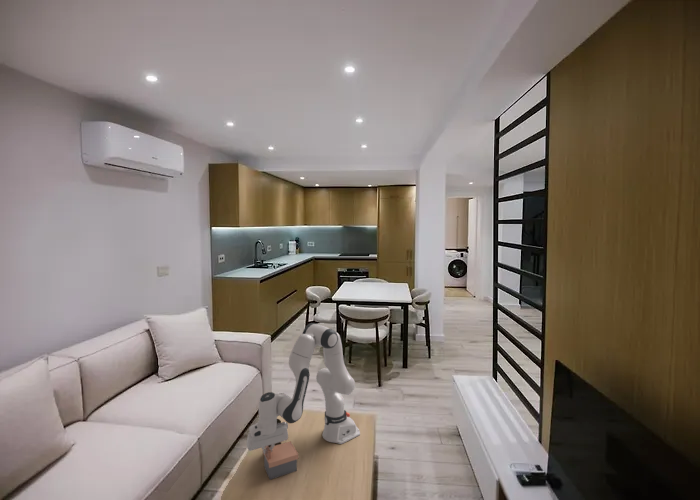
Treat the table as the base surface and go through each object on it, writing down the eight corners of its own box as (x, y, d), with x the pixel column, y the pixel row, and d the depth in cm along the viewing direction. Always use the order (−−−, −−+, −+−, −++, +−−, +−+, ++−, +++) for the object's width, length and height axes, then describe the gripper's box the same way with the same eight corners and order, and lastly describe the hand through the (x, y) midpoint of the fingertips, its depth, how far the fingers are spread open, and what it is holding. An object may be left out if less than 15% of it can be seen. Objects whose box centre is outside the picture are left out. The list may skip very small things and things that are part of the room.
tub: (290, 458, 190) (290, 444, 189) (296, 470, 181) (296, 455, 180) (264, 467, 183) (264, 452, 182) (269, 479, 174) (269, 464, 173)
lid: (290, 445, 190) (290, 434, 189) (298, 458, 180) (298, 446, 179) (262, 453, 183) (262, 441, 182) (269, 468, 172) (269, 455, 172)
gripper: (285, 417, 184) (285, 443, 185) (245, 428, 175) (246, 454, 176) (289, 424, 179) (289, 450, 180) (248, 435, 169) (248, 462, 170)
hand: (267, 452), depth 178 cm, fingers closed, pressing on lid
